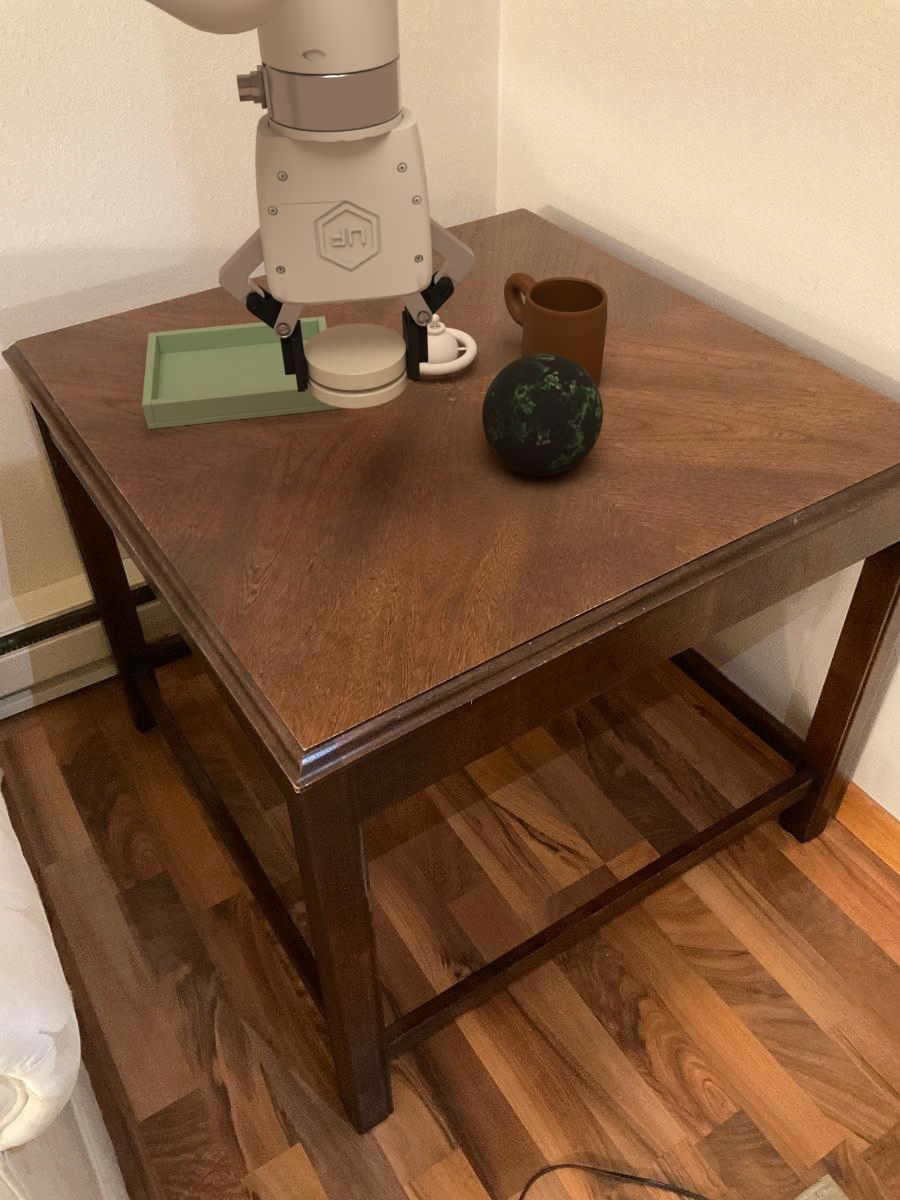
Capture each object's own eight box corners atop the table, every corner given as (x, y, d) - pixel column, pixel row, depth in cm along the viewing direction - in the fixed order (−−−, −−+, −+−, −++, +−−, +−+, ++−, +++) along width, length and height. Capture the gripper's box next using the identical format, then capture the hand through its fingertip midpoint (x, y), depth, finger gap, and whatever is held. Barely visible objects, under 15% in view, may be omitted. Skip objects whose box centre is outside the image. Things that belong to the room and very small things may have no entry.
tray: (148, 429, 90) (141, 405, 89) (154, 356, 100) (148, 332, 98) (339, 409, 92) (337, 384, 91) (327, 339, 102) (324, 315, 100)
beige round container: (311, 418, 65) (306, 378, 63) (305, 366, 70) (301, 327, 67) (414, 409, 65) (412, 368, 63) (401, 358, 70) (399, 319, 68)
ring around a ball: (493, 371, 97) (449, 337, 102) (492, 318, 93) (447, 286, 98) (424, 398, 94) (382, 362, 99) (420, 344, 90) (377, 310, 95)
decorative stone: (537, 419, 91) (543, 319, 84) (621, 465, 85) (634, 362, 78) (457, 463, 86) (456, 360, 79) (541, 515, 80) (547, 409, 74)
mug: (475, 365, 98) (476, 274, 91) (533, 341, 101) (538, 252, 95) (557, 417, 91) (563, 323, 84) (616, 389, 94) (627, 297, 88)
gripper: (171, 124, 51) (227, 418, 63) (500, 104, 53) (493, 393, 65) (177, 81, 56) (228, 360, 69) (475, 64, 58) (473, 338, 71)
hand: (357, 374), depth 67 cm, fingers closed on beige round container, 6 cm apart
